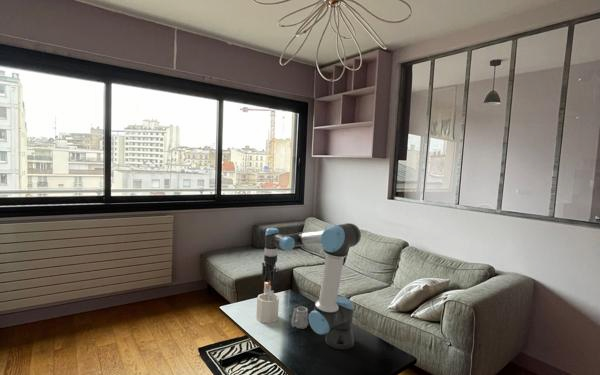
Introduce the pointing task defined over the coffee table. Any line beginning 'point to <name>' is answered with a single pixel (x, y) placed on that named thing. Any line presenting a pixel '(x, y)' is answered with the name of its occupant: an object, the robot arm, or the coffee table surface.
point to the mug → (300, 318)
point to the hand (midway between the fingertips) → (268, 293)
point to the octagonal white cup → (267, 308)
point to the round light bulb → (267, 288)
